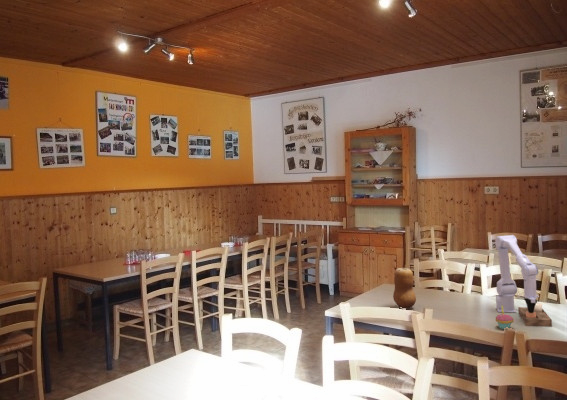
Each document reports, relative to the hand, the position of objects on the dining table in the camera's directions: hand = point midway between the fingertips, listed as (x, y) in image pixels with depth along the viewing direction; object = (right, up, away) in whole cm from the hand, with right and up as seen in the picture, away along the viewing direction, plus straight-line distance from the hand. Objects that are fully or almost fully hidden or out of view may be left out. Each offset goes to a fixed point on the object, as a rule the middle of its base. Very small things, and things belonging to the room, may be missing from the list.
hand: (530, 312), depth 251 cm
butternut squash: (-57, -7, +38) cm, 69 cm away
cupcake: (-17, -7, -6) cm, 19 cm away
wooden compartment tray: (+4, -5, +4) cm, 8 cm away
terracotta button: (0, -5, 0) cm, 5 cm away
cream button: (+8, -2, +8) cm, 12 cm away
